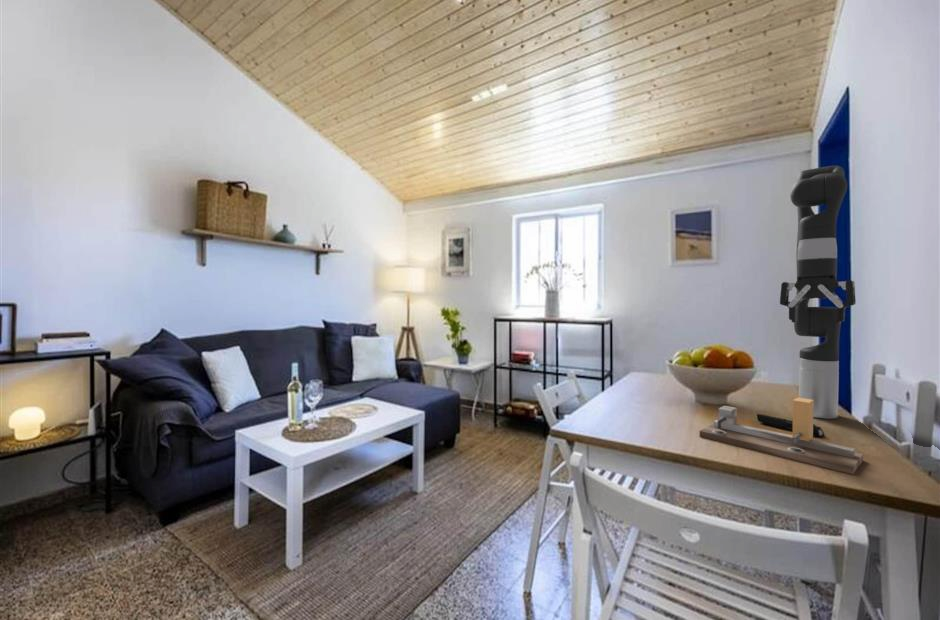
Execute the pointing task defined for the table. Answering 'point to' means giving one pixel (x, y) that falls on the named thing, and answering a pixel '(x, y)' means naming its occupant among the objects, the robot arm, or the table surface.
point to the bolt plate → (781, 443)
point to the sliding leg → (802, 419)
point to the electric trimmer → (786, 424)
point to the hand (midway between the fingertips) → (815, 322)
